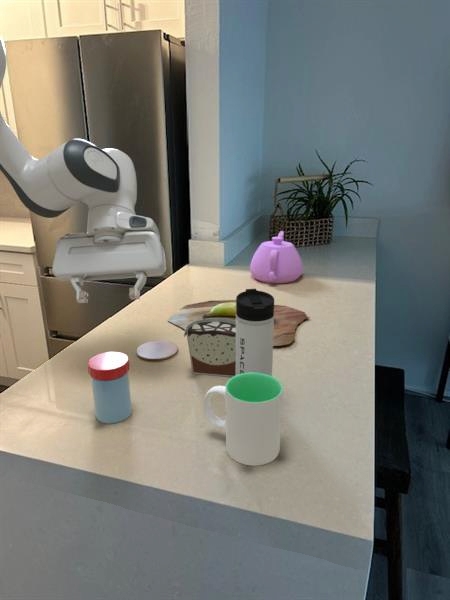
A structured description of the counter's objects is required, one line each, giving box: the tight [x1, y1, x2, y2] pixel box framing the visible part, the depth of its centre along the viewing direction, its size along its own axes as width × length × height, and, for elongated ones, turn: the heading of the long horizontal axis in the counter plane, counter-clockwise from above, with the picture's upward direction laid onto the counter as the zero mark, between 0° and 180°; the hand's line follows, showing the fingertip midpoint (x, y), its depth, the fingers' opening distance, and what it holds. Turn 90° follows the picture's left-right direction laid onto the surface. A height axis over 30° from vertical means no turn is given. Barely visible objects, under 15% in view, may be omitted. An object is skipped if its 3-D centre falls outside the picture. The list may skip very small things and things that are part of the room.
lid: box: [87, 351, 130, 380], centre depth 70 cm, size 6×6×2 cm
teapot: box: [249, 230, 304, 284], centre depth 145 cm, size 25×18×14 cm
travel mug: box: [235, 288, 275, 377], centre depth 73 cm, size 6×7×20 cm
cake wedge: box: [183, 318, 236, 378], centre depth 86 cm, size 12×6×10 cm, turn 80°
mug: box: [203, 372, 283, 467], centre depth 64 cm, size 12×8×10 cm, turn 67°
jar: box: [90, 371, 133, 425], centre depth 71 cm, size 6×6×10 cm
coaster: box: [136, 340, 179, 362], centre depth 95 cm, size 9×9×1 cm
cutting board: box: [167, 299, 311, 347], centre depth 110 cm, size 35×27×4 cm
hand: (108, 300), depth 76 cm, fingers open, 8 cm apart
